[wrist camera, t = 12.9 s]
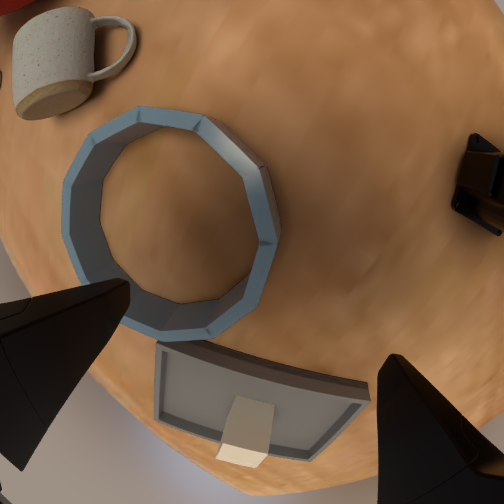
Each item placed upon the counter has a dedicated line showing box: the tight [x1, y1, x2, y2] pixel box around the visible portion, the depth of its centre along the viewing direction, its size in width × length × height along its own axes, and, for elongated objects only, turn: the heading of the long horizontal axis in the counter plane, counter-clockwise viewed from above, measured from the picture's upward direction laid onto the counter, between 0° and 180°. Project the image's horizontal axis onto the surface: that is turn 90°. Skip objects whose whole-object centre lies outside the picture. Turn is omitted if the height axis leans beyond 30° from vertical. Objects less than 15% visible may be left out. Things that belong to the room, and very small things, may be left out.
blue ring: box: [61, 106, 282, 342], centre depth 18 cm, size 16×16×4 cm
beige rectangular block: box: [216, 395, 275, 468], centre depth 22 cm, size 4×4×6 cm
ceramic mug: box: [12, 7, 137, 120], centre depth 13 cm, size 11×8×8 cm
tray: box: [154, 340, 371, 462], centre depth 25 cm, size 20×14×2 cm
